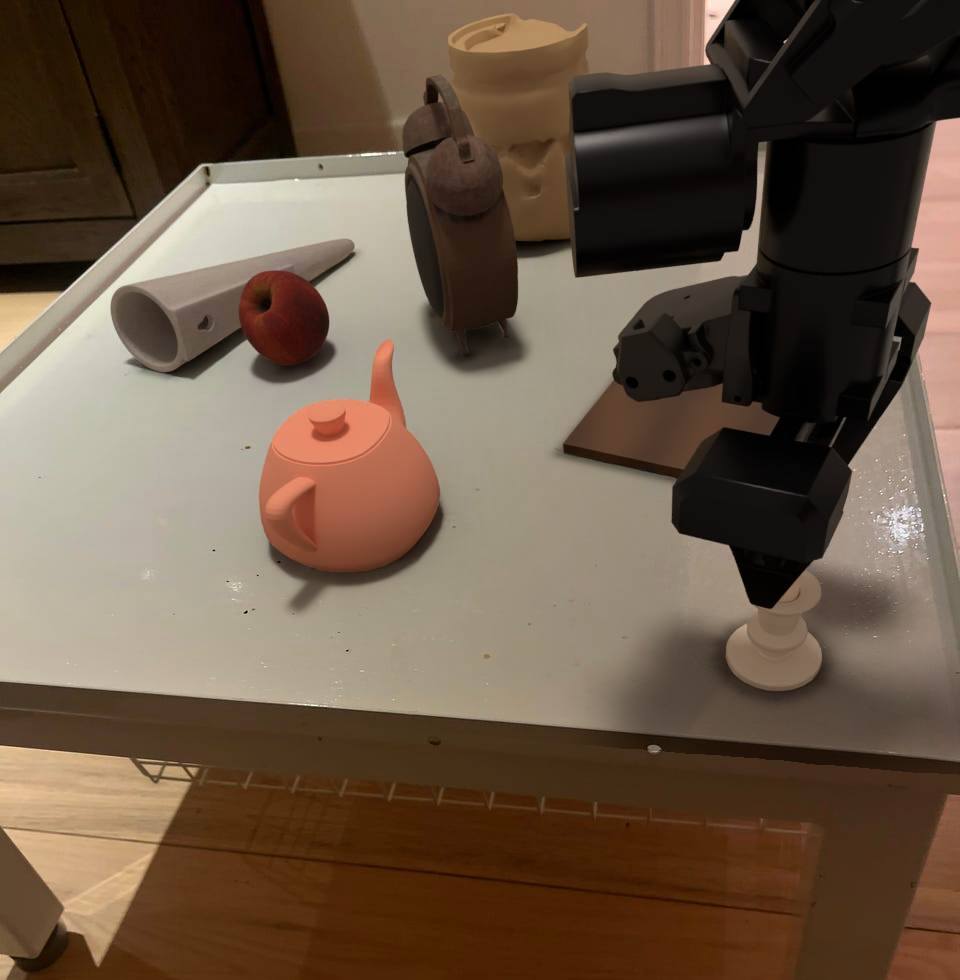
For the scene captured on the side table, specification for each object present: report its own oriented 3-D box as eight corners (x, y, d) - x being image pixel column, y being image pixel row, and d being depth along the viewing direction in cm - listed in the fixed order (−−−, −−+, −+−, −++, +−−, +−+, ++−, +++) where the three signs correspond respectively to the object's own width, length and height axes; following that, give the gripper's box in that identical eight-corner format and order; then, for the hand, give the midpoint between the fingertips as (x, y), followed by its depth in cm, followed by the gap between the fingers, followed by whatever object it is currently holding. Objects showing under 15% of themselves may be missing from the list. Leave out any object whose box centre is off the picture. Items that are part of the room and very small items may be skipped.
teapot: (224, 587, 65) (175, 472, 58) (344, 436, 76) (315, 325, 69) (384, 619, 61) (352, 498, 54) (486, 454, 72) (470, 338, 65)
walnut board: (831, 348, 76) (833, 339, 76) (749, 493, 65) (750, 483, 64) (665, 323, 82) (665, 314, 82) (563, 452, 71) (562, 443, 70)
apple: (236, 367, 86) (207, 281, 80) (299, 329, 90) (276, 244, 84) (290, 389, 82) (264, 300, 76) (354, 348, 86) (334, 260, 80)
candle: (718, 683, 54) (731, 540, 46) (733, 619, 57) (747, 476, 50) (816, 699, 52) (845, 554, 45) (825, 632, 55) (853, 486, 48)
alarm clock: (413, 305, 90) (370, 67, 76) (487, 287, 91) (458, 48, 77) (450, 379, 80) (409, 120, 66) (533, 358, 81) (510, 98, 67)
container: (523, 198, 105) (507, 6, 92) (618, 218, 98) (615, 14, 85) (446, 244, 99) (418, 45, 86) (542, 268, 92) (527, 58, 79)
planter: (287, 199, 101) (98, 280, 84) (353, 205, 97) (169, 291, 80) (301, 274, 105) (125, 364, 89) (365, 282, 102) (193, 379, 85)
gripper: (716, 142, 46) (702, 419, 57) (542, 327, 36) (567, 624, 47) (965, 156, 42) (898, 456, 53) (851, 375, 31) (796, 692, 42)
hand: (790, 546), depth 49 cm, fingers open, 9 cm apart
